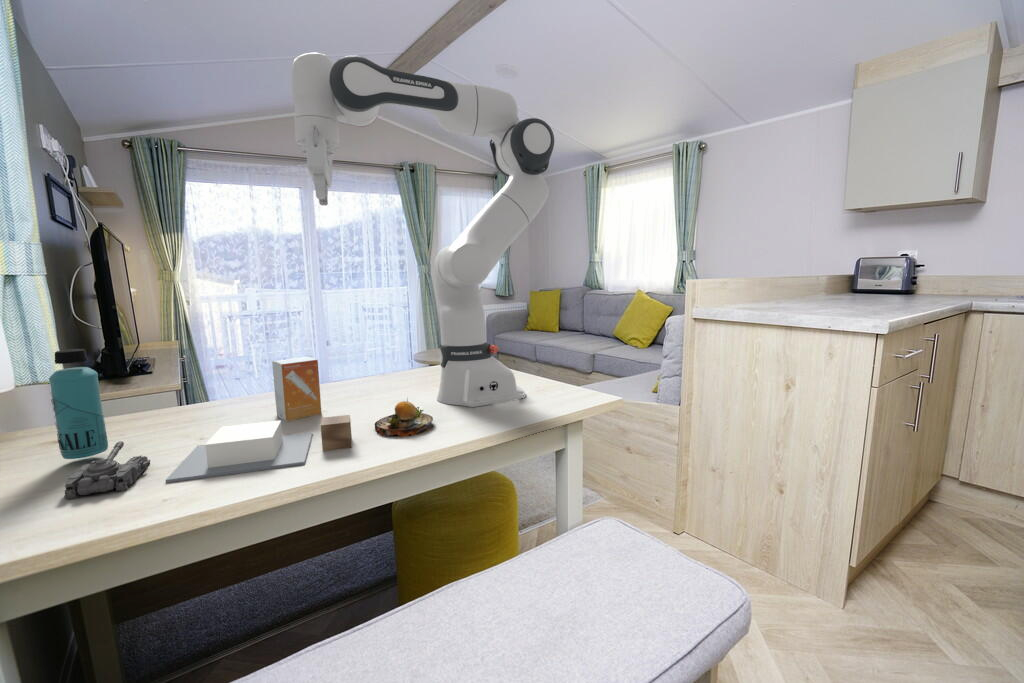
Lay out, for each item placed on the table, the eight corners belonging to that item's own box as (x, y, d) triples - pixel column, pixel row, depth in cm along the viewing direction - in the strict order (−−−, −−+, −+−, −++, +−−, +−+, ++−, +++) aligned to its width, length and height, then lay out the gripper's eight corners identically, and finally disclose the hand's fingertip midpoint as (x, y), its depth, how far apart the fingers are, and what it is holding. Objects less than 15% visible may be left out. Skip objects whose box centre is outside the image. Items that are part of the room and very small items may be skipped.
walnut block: (351, 439, 92) (350, 414, 91) (351, 448, 87) (349, 422, 86) (324, 442, 90) (322, 417, 90) (322, 451, 86) (320, 425, 85)
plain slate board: (312, 434, 95) (312, 432, 95) (304, 464, 80) (304, 461, 80) (197, 448, 89) (197, 445, 88) (165, 482, 73) (165, 479, 73)
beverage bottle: (102, 451, 88) (86, 345, 85) (117, 457, 84) (101, 347, 82) (55, 463, 82) (36, 350, 79) (70, 471, 79) (51, 353, 76)
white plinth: (283, 440, 90) (281, 420, 90) (274, 459, 81) (272, 437, 80) (223, 447, 87) (221, 426, 87) (207, 467, 78) (205, 444, 77)
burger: (432, 418, 105) (430, 385, 104) (435, 435, 94) (434, 398, 93) (376, 422, 103) (374, 389, 102) (373, 441, 91) (370, 403, 90)
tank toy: (90, 474, 78) (85, 445, 78) (158, 465, 82) (155, 436, 81) (53, 506, 67) (47, 472, 67) (134, 493, 71) (129, 461, 70)
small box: (286, 422, 103) (280, 364, 102) (276, 416, 108) (271, 360, 106) (322, 414, 109) (318, 358, 107) (312, 409, 114) (307, 355, 112)
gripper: (330, 122, 93) (335, 194, 95) (334, 149, 113) (338, 208, 115) (296, 120, 92) (302, 193, 93) (306, 147, 111) (310, 208, 113)
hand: (322, 202), depth 104 cm, fingers open, 8 cm apart
